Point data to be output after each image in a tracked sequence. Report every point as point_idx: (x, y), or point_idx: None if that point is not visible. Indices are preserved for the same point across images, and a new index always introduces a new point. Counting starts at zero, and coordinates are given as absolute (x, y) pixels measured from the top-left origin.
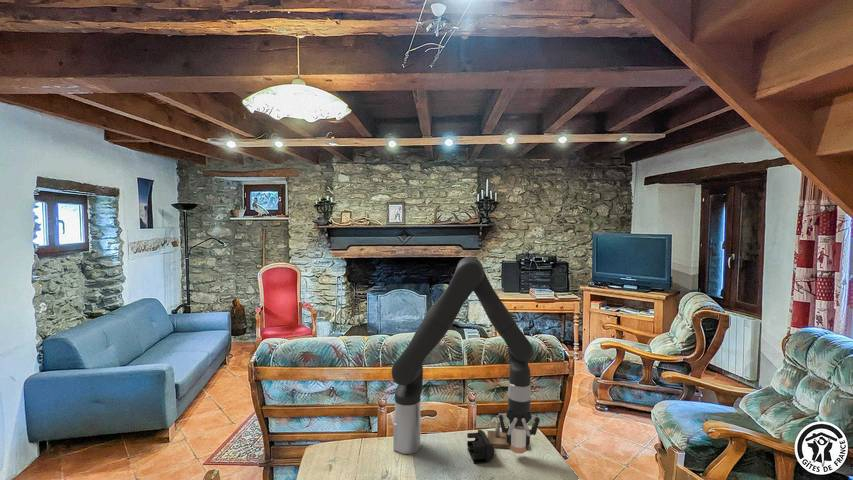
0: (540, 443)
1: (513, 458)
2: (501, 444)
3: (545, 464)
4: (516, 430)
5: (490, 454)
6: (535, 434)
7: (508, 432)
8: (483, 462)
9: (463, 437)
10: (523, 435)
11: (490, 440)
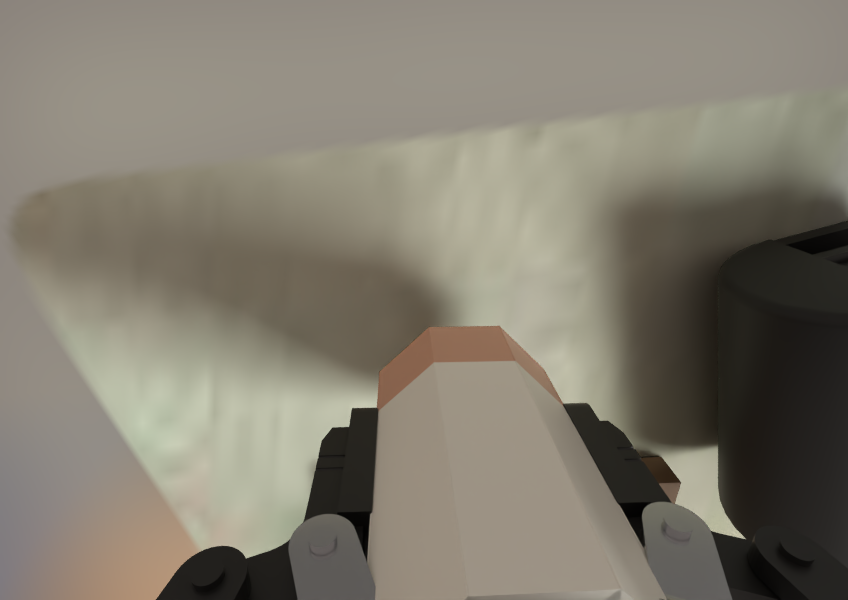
0: None
1: None
2: None
3: (196, 297)
4: (606, 575)
5: (780, 274)
6: (188, 559)
7: (692, 538)
8: (781, 242)
9: None
10: (425, 504)
11: None
